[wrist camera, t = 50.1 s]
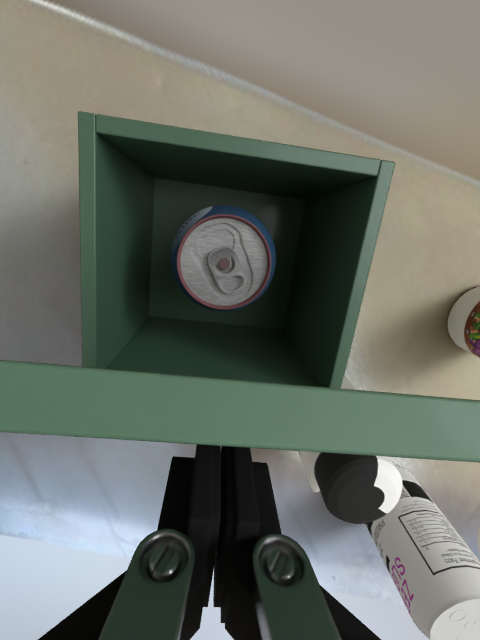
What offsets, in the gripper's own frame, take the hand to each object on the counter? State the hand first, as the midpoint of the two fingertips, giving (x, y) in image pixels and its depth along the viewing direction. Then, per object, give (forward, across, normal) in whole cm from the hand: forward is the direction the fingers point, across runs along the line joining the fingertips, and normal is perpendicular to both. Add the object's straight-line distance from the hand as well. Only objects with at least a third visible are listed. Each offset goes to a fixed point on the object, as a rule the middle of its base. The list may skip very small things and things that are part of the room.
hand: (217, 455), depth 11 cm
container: (+23, -13, +11) cm, 29 cm away
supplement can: (+23, -24, +22) cm, 40 cm away
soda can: (+22, 0, -6) cm, 23 cm away
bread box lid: (+1, 0, -2) cm, 2 cm away
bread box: (+22, 0, -5) cm, 23 cm away
